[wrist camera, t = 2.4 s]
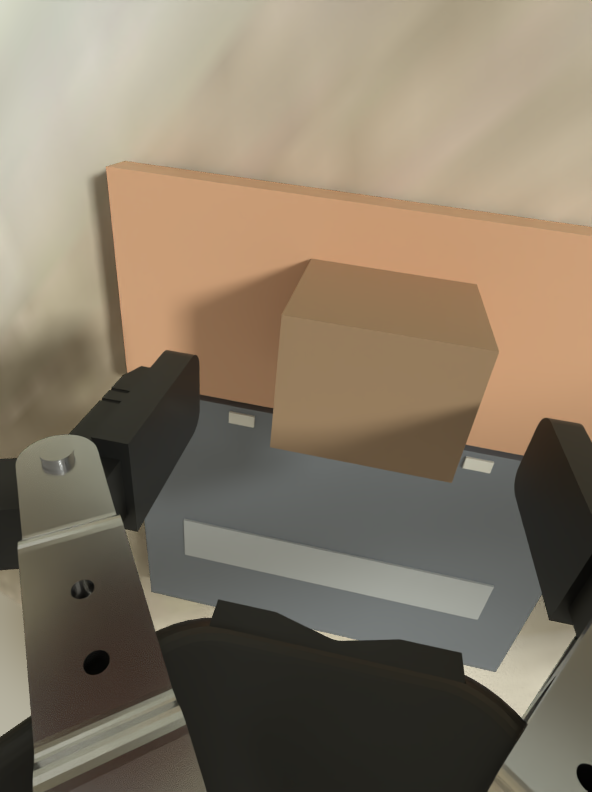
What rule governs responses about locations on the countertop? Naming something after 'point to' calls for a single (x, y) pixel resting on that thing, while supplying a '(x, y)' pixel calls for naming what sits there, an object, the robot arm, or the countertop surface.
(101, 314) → the countertop surface
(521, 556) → the board
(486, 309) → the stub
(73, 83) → the countertop surface
